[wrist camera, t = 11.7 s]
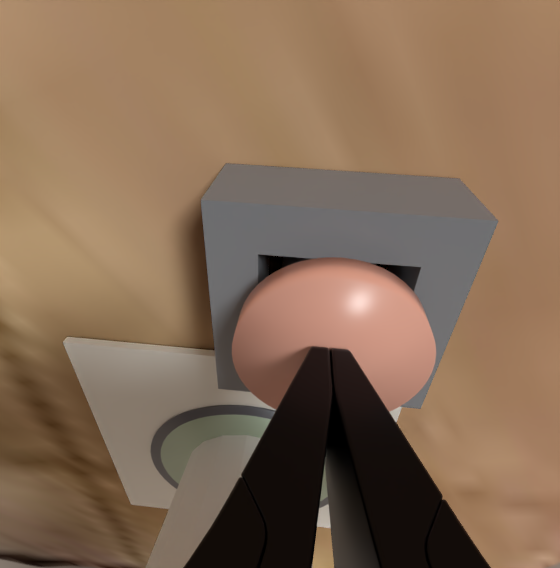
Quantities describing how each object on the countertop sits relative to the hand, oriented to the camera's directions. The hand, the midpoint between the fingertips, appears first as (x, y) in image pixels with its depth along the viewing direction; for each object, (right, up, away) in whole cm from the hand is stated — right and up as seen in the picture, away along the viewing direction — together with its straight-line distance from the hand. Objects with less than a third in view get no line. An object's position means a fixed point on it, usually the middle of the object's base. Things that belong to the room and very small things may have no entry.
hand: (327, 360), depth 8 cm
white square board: (-3, -6, +9) cm, 12 cm away
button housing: (0, +2, +3) cm, 4 cm away
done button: (+1, +3, +4) cm, 5 cm away
